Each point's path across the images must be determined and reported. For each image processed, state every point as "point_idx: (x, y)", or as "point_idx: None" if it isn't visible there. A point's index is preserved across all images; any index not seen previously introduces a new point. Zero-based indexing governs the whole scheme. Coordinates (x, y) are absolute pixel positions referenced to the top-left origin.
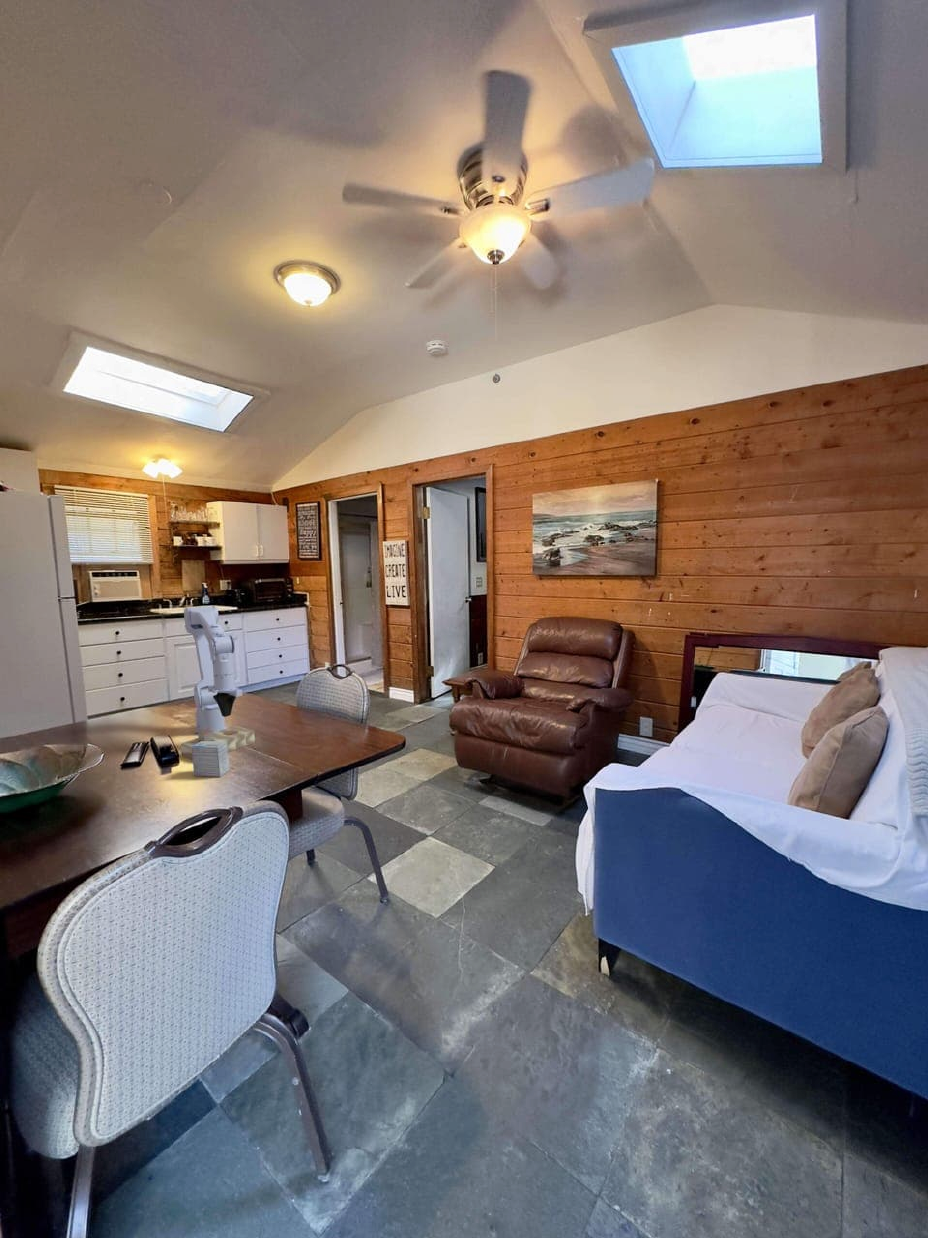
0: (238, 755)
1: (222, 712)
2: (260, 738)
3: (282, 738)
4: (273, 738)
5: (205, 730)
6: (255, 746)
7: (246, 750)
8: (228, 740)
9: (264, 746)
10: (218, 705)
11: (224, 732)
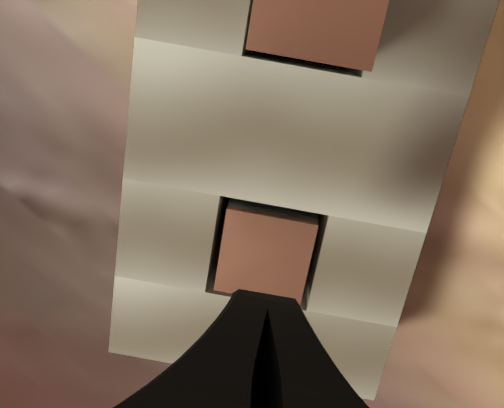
0: (36, 65)
1: (265, 318)
2: (166, 364)
3: (28, 398)
4: (83, 384)
5: (359, 22)
6: (72, 242)
7: (66, 163)
8: (131, 108)
9: (14, 260)
10: (355, 402)
11: (309, 233)
